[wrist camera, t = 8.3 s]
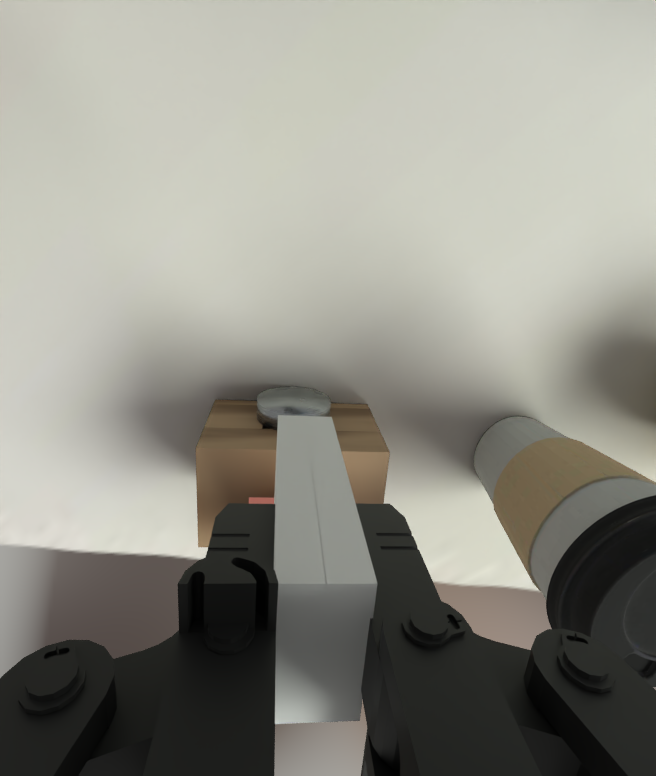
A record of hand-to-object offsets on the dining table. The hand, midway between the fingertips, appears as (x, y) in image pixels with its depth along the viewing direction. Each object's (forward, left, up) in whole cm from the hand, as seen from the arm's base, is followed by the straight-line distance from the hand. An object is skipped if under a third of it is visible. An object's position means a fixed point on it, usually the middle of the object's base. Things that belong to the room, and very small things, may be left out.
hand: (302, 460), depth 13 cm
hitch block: (+8, 0, -17) cm, 19 cm away
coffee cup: (+8, +16, -17) cm, 25 cm away
